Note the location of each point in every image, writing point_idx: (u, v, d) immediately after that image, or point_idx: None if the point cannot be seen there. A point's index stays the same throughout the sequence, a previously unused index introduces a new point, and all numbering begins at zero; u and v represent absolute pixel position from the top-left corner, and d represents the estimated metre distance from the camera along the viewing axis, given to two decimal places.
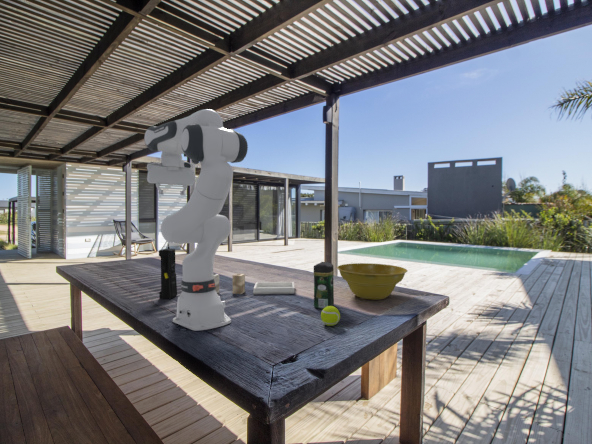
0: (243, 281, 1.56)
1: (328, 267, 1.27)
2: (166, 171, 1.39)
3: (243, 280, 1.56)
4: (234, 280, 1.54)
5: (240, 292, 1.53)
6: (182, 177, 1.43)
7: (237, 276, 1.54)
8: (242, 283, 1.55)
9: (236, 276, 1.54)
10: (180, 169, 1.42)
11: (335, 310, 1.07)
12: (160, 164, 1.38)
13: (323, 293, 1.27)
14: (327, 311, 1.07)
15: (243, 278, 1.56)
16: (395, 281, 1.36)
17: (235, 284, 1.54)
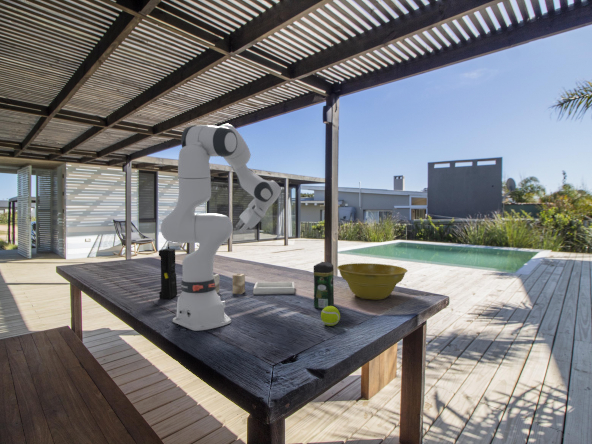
0: (243, 281, 1.56)
1: (328, 267, 1.27)
2: (248, 211, 1.59)
3: (243, 280, 1.56)
4: (234, 280, 1.54)
5: (240, 292, 1.53)
6: (247, 217, 1.52)
7: (237, 276, 1.54)
8: (242, 283, 1.55)
9: (236, 276, 1.54)
10: None
11: (335, 310, 1.07)
12: None
13: (323, 293, 1.27)
14: (327, 310, 1.07)
15: (243, 279, 1.56)
16: (395, 281, 1.36)
17: (235, 284, 1.54)
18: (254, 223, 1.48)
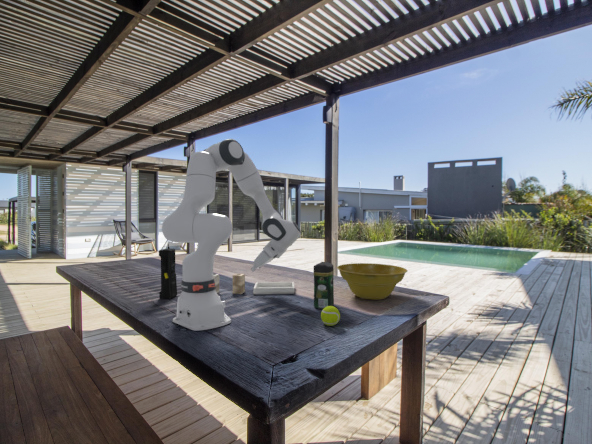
0: (243, 281, 1.56)
1: (328, 267, 1.27)
2: None
3: (243, 280, 1.56)
4: (234, 280, 1.54)
5: (240, 292, 1.53)
6: None
7: (237, 276, 1.54)
8: (242, 283, 1.55)
9: (236, 276, 1.54)
10: None
11: (335, 310, 1.07)
12: None
13: (323, 293, 1.27)
14: (327, 311, 1.07)
15: (243, 279, 1.56)
16: (395, 281, 1.36)
17: (235, 284, 1.54)
18: (261, 262, 1.43)
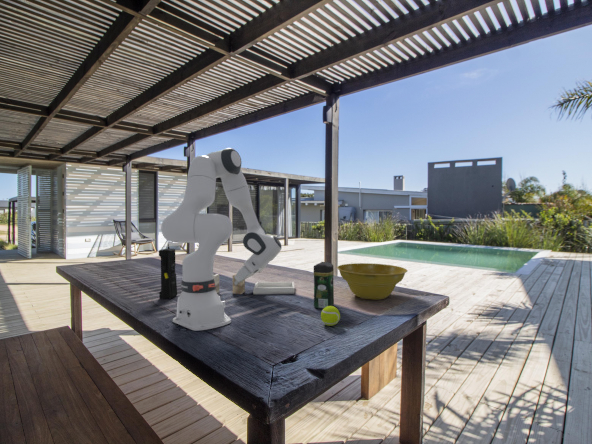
0: (243, 281, 1.56)
1: (328, 267, 1.27)
2: None
3: (243, 280, 1.56)
4: (234, 280, 1.54)
5: (240, 292, 1.53)
6: None
7: None
8: (242, 283, 1.55)
9: None
10: None
11: (335, 310, 1.07)
12: None
13: (323, 293, 1.27)
14: (327, 310, 1.07)
15: None
16: (395, 281, 1.36)
17: None
18: (241, 277, 1.45)
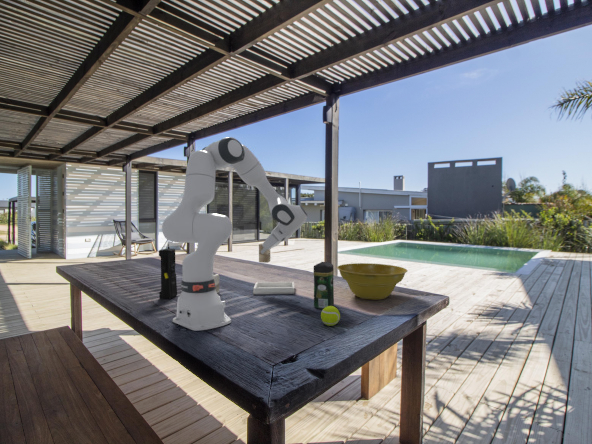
0: (269, 250, 1.59)
1: (328, 267, 1.27)
2: None
3: (269, 249, 1.59)
4: (260, 249, 1.57)
5: (266, 261, 1.57)
6: None
7: None
8: (268, 252, 1.58)
9: None
10: None
11: (335, 310, 1.07)
12: None
13: (323, 293, 1.27)
14: (327, 310, 1.07)
15: None
16: (395, 281, 1.36)
17: (261, 253, 1.57)
18: (269, 244, 1.48)
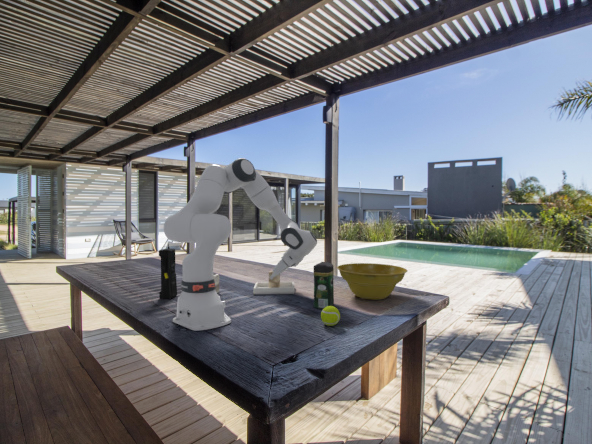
0: (279, 278, 1.60)
1: (328, 267, 1.27)
2: None
3: (279, 277, 1.60)
4: None
5: None
6: None
7: None
8: (278, 280, 1.58)
9: None
10: None
11: (335, 310, 1.07)
12: None
13: (323, 293, 1.27)
14: (327, 310, 1.07)
15: (278, 275, 1.59)
16: (395, 281, 1.36)
17: (271, 281, 1.57)
18: (279, 270, 1.49)
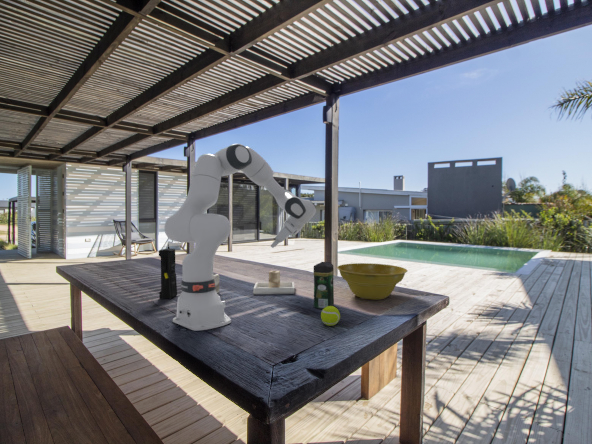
0: (279, 278, 1.60)
1: (328, 267, 1.27)
2: None
3: (279, 277, 1.60)
4: (270, 277, 1.58)
5: None
6: None
7: (273, 273, 1.57)
8: (278, 280, 1.58)
9: (273, 273, 1.57)
10: None
11: (335, 310, 1.07)
12: None
13: (323, 293, 1.27)
14: (327, 310, 1.07)
15: (278, 275, 1.59)
16: (395, 281, 1.36)
17: (271, 281, 1.57)
18: (283, 237, 1.51)
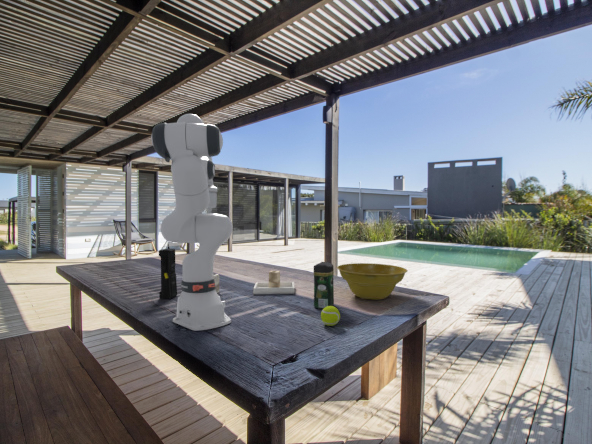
0: (279, 278, 1.60)
1: (328, 267, 1.27)
2: None
3: (279, 277, 1.60)
4: (270, 277, 1.58)
5: None
6: None
7: (273, 273, 1.57)
8: (278, 280, 1.58)
9: (273, 273, 1.57)
10: None
11: (335, 310, 1.07)
12: None
13: (323, 293, 1.27)
14: (327, 311, 1.07)
15: (278, 275, 1.59)
16: (395, 281, 1.36)
17: (271, 281, 1.57)
18: (214, 201, 1.43)
